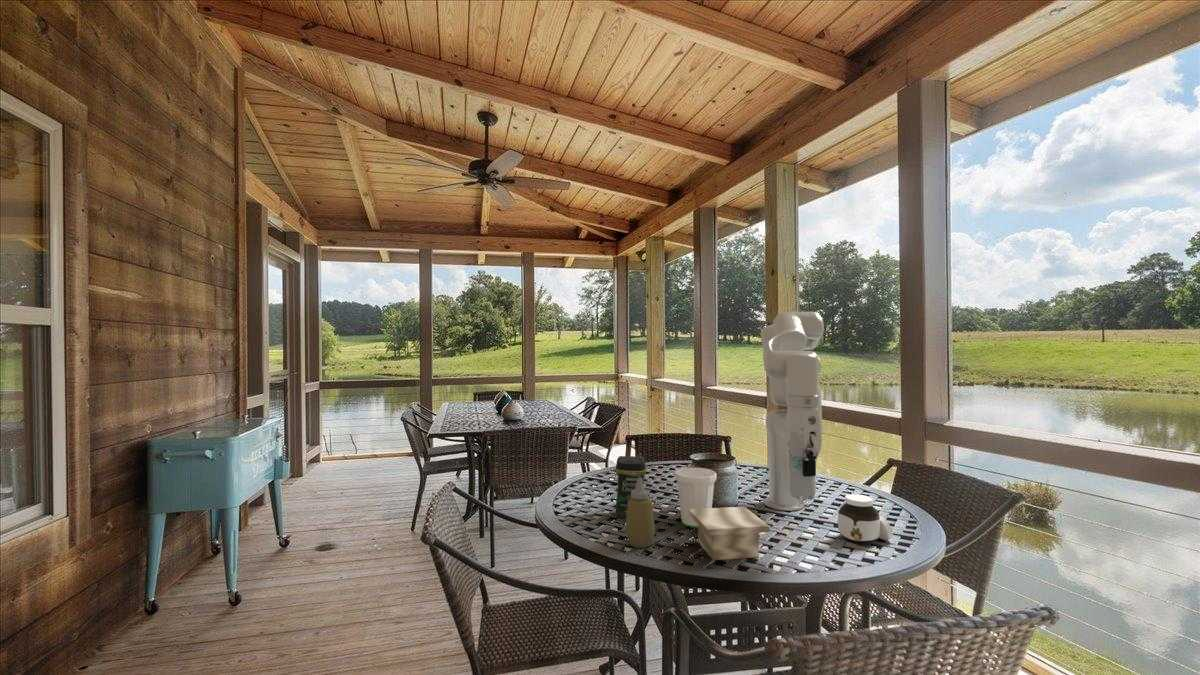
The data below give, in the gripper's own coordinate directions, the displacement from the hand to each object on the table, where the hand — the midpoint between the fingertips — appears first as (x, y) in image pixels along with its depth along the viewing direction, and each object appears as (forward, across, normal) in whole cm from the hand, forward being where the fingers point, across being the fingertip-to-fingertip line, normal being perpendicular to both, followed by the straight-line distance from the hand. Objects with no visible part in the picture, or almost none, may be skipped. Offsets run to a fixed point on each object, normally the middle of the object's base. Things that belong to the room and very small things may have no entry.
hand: (802, 471), depth 138 cm
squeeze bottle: (+22, +14, +39) cm, 47 cm away
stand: (+22, +7, +17) cm, 29 cm away
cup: (+22, +28, +19) cm, 41 cm away
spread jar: (+22, +8, -23) cm, 33 cm away
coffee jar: (+22, +38, +37) cm, 58 cm away
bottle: (+7, 0, 0) cm, 7 cm away
